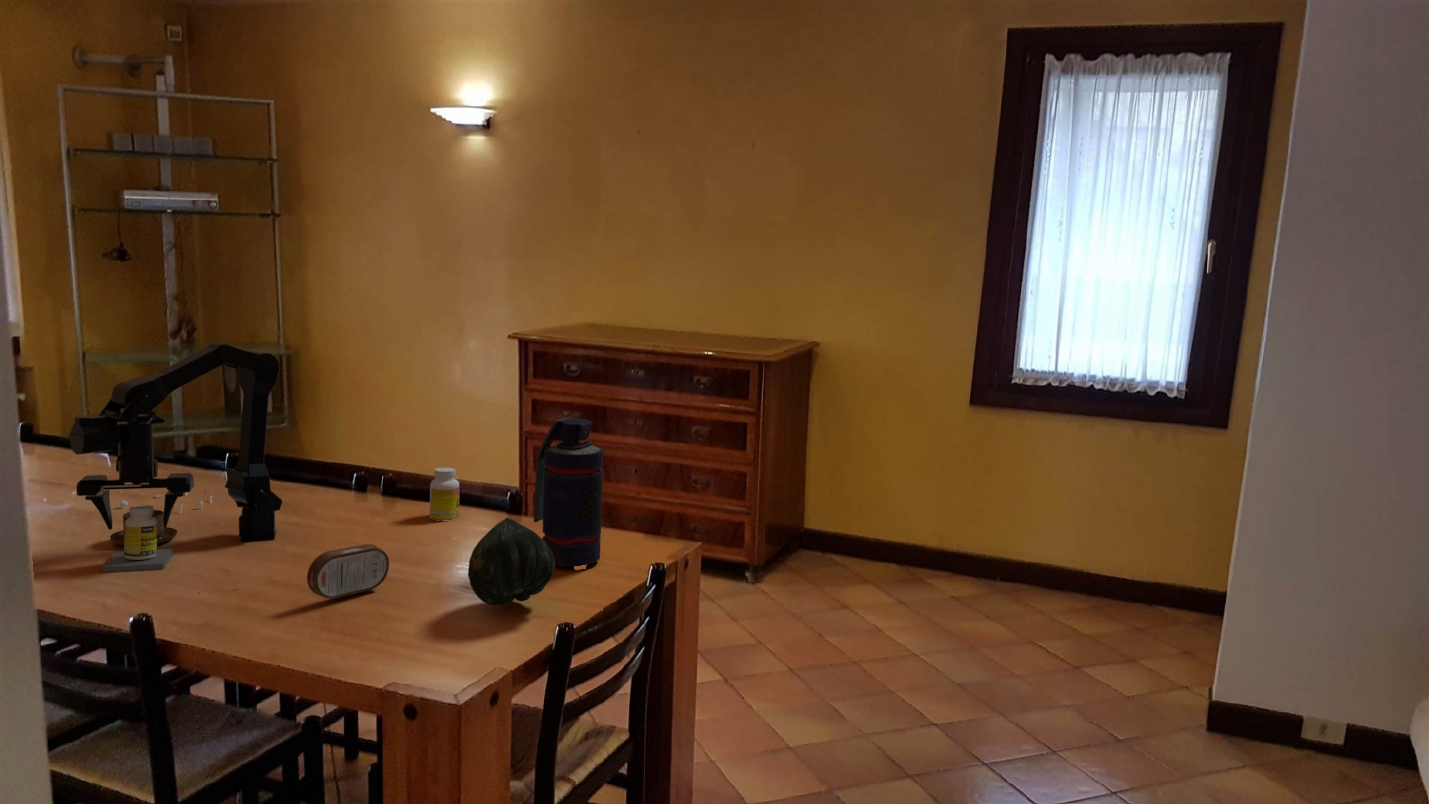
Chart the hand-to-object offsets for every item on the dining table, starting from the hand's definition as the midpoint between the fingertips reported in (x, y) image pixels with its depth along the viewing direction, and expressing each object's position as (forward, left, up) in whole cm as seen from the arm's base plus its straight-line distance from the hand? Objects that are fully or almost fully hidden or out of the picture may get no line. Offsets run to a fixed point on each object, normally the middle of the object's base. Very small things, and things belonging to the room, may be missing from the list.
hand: (138, 527), depth 186 cm
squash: (-65, +40, -7) cm, 77 cm away
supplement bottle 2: (-59, -20, -7) cm, 63 cm away
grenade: (-80, +17, -7) cm, 82 cm away
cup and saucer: (+2, -16, -7) cm, 18 cm away
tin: (-38, +27, -7) cm, 47 cm away
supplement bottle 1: (0, 0, -6) cm, 6 cm away
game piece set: (+2, -44, -8) cm, 44 cm away
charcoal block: (0, 0, -8) cm, 8 cm away
